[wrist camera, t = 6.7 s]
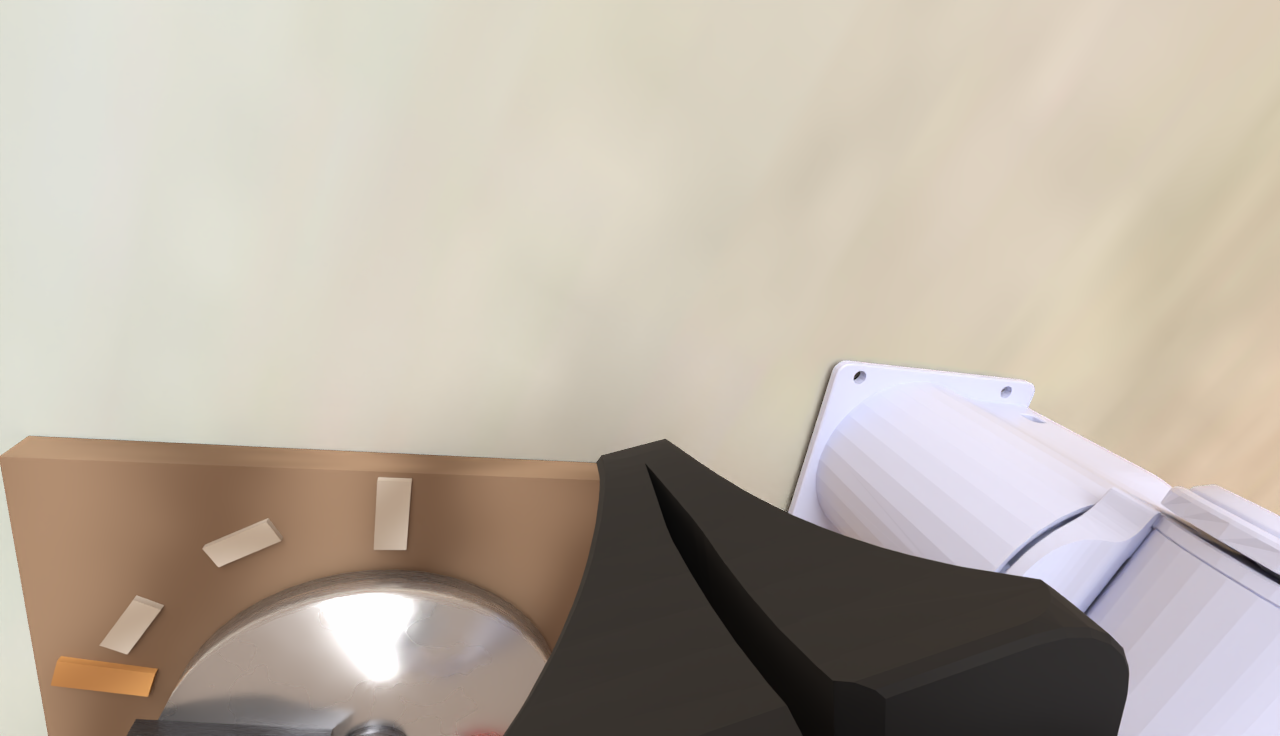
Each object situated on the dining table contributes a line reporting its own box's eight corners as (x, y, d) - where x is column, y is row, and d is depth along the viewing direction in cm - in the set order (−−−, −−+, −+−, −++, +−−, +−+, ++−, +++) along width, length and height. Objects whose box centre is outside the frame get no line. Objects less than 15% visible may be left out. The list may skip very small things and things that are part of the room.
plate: (680, 467, 23) (692, 486, 22) (595, 826, 30) (600, 857, 29) (28, 435, 18) (-7, 460, 16) (99, 888, 24) (78, 931, 23)
